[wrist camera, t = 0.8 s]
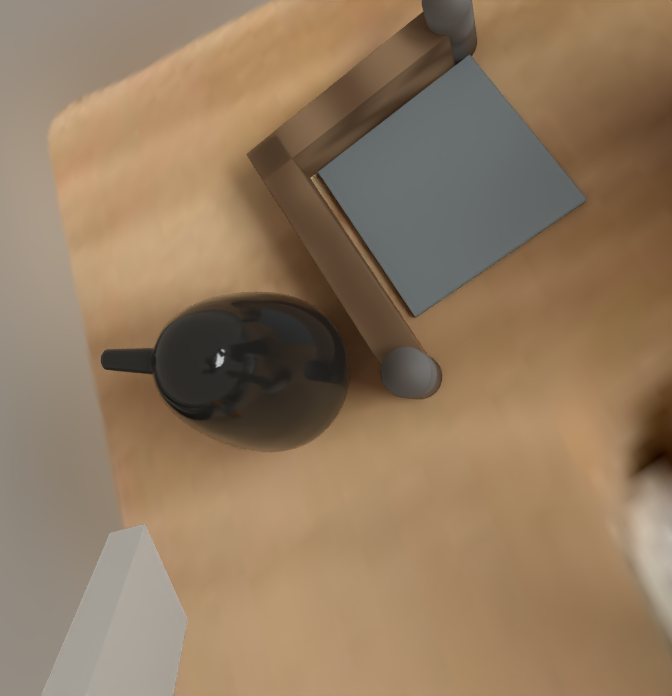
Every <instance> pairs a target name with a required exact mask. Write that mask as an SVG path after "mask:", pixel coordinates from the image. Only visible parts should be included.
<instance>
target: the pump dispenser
mask: <svg viewBox="0 0 672 696" xmlns="http://www.w3.org/2000/svg"><path fill="white" fill-rule="evenodd" d="M101 364H102V366H103V368H104V369H106V370H113V371H123V372H132V373H141V374H150V375H153V378H154V382H155V386H156V388H157V391H158V393H159V395H160V397H161V398H162V400H163V401H164V403H165V404H166V405H167V407H168V408H169V409H170V410H171V411H172V412H173V413H174V414H175V415H176V416H177V417H178V418H180V419H181V420H182V421H183V422H185V423H186V424H187V425H189V426H190V427H192V428H193V429H195V430H197V431H199V432H200V433H202V434H204V435H206V436H208V437H210V438H212V439H215V440H217V441H219V442H222V443H225V444H228V445H231V446H234V447H238V448H242V449H247V450H252V451H259V452H280V451H287V450H291V449H295V448H298V447H301V446H303V445H305V444H307V443H309V442H311V441H313V440H314V439H316V438H317V437H318V436H320V435H321V434H322V433H323V432H324V431H325V430H326V429H327V428H328V427H329V426H330V425H331V423H332V422H333V421H334V419H335V418H336V416H337V415H338V413H339V411H340V409H341V407H342V405H343V403H344V400H345V397H346V394H347V390H348V385H349V372H350V370H349V359H348V353H347V350H346V346H345V343H344V341H343V338H342V336H341V334H340V332H339V331H338V329H337V328H336V326H335V325H334V323H333V322H332V321H331V320H330V319H329V317H328V316H327V315H325V314H324V313H323V312H322V311H321V310H320V309H318V308H317V307H315V306H314V305H312V304H310V303H308V302H306V301H304V300H301V299H299V298H296V297H293V296H289V295H285V294H279V293H270V292H242V293H233V294H227V295H222V296H217V297H213V298H209V299H206V300H203V301H200V302H198V303H196V304H193V305H191V306H189V307H187V308H186V309H184V310H182V311H181V312H180V313H178V314H177V315H176V316H174V317H173V318H172V319H171V320H170V321H169V322H168V323H167V324H166V325H165V327H164V328H163V330H162V331H161V333H160V335H159V337H158V339H157V341H156V343H155V346H154V348H134V349H107V350H105V351H104V352H103V354H102V356H101Z"/></svg>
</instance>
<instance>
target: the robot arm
mask: <svg viewBox="0 0 672 696" xmlns="http://www.w3.org/2000/svg"><path fill="white" fill-rule="evenodd" d="M187 622H188V619H187V617H186V614H185V612H184V610H183V608H182V605H181V603H180V601H179V599H178V597H177V594H176V592H175V590H174V588H173V585H172V583H171V581H170V579H169V576H168V574H167V572H166V570H165V567H164V565H163V563H162V561H161V558H160V556H159V554H158V552H157V549H156V547H155V545H154V543H153V541H152V538H151V536H150V534H149V532H148V529H147V527H146V525H145V524H142V525H138V526H134V527H130V528H126V529H122V530H119V531H115V532H111V533H110V534H109V536H108V538H107V541H106V543H105V546H104V548H103V550H102V553H101V555H100V557H99V560H98V562H97V564H96V567H95V569H94V571H93V574H92V576H91V579H90V581H89V583H88V586H87V588H86V590H85V593H84V595H83V597H82V600H81V602H80V605H79V607H78V609H77V611H76V614H75V616H74V619H73V621H72V623H71V626H70V628H69V631H68V633H67V635H66V638H65V640H64V642H63V644H62V647H61V649H60V652H59V654H58V656H57V659H56V661H55V663H54V666H53V668H52V671H51V673H50V675H49V678H48V680H47V682H46V685H45V687H44V690H43V692H42V694H41V696H173V695H174V690H175V684H176V679H177V674H178V669H179V663H180V658H181V653H182V648H183V642H184V637H185V632H186V627H187Z"/></svg>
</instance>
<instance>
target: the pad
mask: <svg viewBox="0 0 672 696" xmlns="http://www.w3.org/2000/svg"><path fill="white" fill-rule="evenodd" d="M318 173H319V174H320V176H321V177H322V179H323V180H324V182H325V183H326V185H327V186H328V188H329V189H330V191H331V192H332V194H333V195H334V197H335V198H336V200H337V201H338V203H339V204H340V206H341V207H342V209H343V210H344V212H345V213H346V215H347V216H348V218H349V219H350V221H351V222H352V224H353V225H354V227H355V228H356V230H357V231H358V232H359V234H360V235H361V237H362V238H363V240H364V241H365V243H366V244H367V246H368V247H369V249H370V250H371V252H372V253H373V255H374V256H375V258H376V259H377V261H378V262H379V264H380V265H381V267H382V268H383V270H384V271H385V273H386V274H387V276H388V277H389V279H390V280H391V282H392V283H393V285H394V286H395V288H396V289H397V291H398V292H399V294H400V295H401V297H402V298H403V300H404V301H405V302H406V304H407V305H408V307H409V308H410V310H411V311H412V313H413V314H414V316H415V317H417V316H419V315H420V314H422V313H423V312H425V311H426V310H428V309H429V308H430V307H432V306H433V305H435V304H436V303H438V302H439V301H441V300H442V299H444V298H445V297H447V296H448V295H449V294H451V293H452V292H454V291H455V290H457V289H458V288H460V287H461V286H463V285H464V284H466V283H467V282H468V281H470V280H471V279H473V278H474V277H476V276H477V275H479V274H480V273H482V272H483V271H485V270H486V269H487V268H489V267H490V266H492V265H493V264H495V263H496V262H498V261H499V260H501V259H502V258H504V257H505V256H506V255H508V254H509V253H511V252H512V251H514V250H515V249H517V248H518V247H520V246H521V245H523V244H524V243H525V242H527V241H528V240H530V239H531V238H533V237H534V236H536V235H537V234H539V233H540V232H542V231H543V230H544V229H546V228H547V227H549V226H550V225H552V224H553V223H555V222H556V221H558V220H559V219H561V218H562V217H563V216H565V215H566V214H568V213H569V212H571V211H572V210H574V209H575V208H577V207H578V206H580V205H581V204H582V203H584V202H585V201H586V200H587V198H586V197H585V196H584V195H583V193H582V192H581V191H580V190H579V188H578V187H577V186H576V185H575V184H574V182H573V181H572V180H571V179H570V177H569V176H568V175H567V174H566V172H565V171H564V170H563V169H562V168H561V166H560V165H559V164H558V163H557V161H556V160H555V159H554V158H553V156H552V155H551V154H550V153H549V151H548V150H547V149H546V148H545V147H544V145H543V144H542V143H541V142H540V140H539V139H538V138H537V137H536V135H535V134H534V133H533V132H532V131H531V129H530V128H529V127H528V126H527V124H526V123H525V122H524V121H523V119H522V118H521V117H520V116H519V115H518V113H517V112H516V111H515V110H514V108H513V107H512V106H511V105H510V103H509V102H508V101H507V100H506V99H505V97H504V96H503V95H502V94H501V92H500V91H499V90H498V89H497V87H496V86H495V85H494V84H493V83H492V81H491V80H490V79H489V78H488V76H487V75H486V74H485V73H484V71H483V70H482V69H481V68H480V67H479V65H478V64H477V63H476V62H475V60H474V59H473V58H472V57H471V55H468V56H467V57H466V58H464V59H463V60H462V61H461V62H459V63H458V64H457V65H455V66H454V67H453V68H451V69H450V70H449V71H448V72H446V73H445V74H444V75H442V76H441V77H440V78H439V79H437V80H436V81H435V82H433V83H432V84H431V85H430V86H428V87H427V88H426V89H424V90H423V91H422V92H420V93H419V94H418V95H417V96H415V97H414V98H413V99H411V100H410V101H409V102H408V103H406V104H405V105H404V106H402V107H401V108H400V109H398V110H397V111H396V112H395V113H393V114H392V115H391V116H389V117H388V118H387V119H386V120H384V121H383V122H382V123H380V124H379V125H378V126H377V127H375V128H374V129H373V130H371V131H370V132H369V133H367V134H366V135H365V136H364V137H362V138H361V139H360V140H358V141H357V142H356V143H355V144H353V145H352V146H351V147H349V148H348V149H347V150H346V151H344V152H343V153H342V154H340V155H339V156H338V157H336V158H335V159H334V160H333V161H331V162H330V163H329V164H327V165H326V166H325V167H324V168H322V169H321V170H320V171H318Z"/></svg>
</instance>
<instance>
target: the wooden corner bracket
mask: <svg viewBox="0 0 672 696" xmlns="http://www.w3.org/2000/svg"><path fill="white" fill-rule="evenodd" d="M422 7H423V11H424V12H422V13H421V14H420V15H419V16H417V17H416V18H415V19H414V20H412V21H411V22H410V23H409V24H407V25H406V26H405V27H404V28H402V29H401V30H400V31H399V32H397V33H396V34H395V35H394V36H392V37H391V38H390V39H389V40H388V41H386V42H385V43H384V44H383V45H381V46H380V47H379V48H378V49H376V50H375V51H374V52H373V53H371V54H370V55H369V56H368V57H366V58H365V59H364V60H363V61H361V62H360V63H359V64H358V65H356V66H355V67H354V68H353V69H352V70H350V71H349V72H348V73H347V74H345V75H344V76H343V77H342V78H340V79H339V80H338V81H337V82H335V83H334V84H333V85H332V86H330V87H329V88H328V89H327V90H325V91H324V92H323V93H322V94H320V95H319V96H318V97H317V98H316V99H314V100H313V101H312V102H311V103H309V104H308V105H307V106H306V107H304V108H303V109H302V110H301V111H299V112H298V113H297V114H296V115H294V116H293V117H292V118H291V119H289V120H288V121H287V122H286V123H284V124H283V125H282V126H281V127H280V128H278V129H277V130H276V131H275V132H273V133H272V134H271V135H270V136H268V137H267V138H266V139H265V140H263V141H262V142H261V143H260V144H258V145H257V146H256V147H255V148H253V149H252V150H251V151H250V152H249V153H247V156H248V158H249V159H250V161H251V162H252V164H253V165H254V167H255V169H256V170H257V172H258V173H259V175H260V176H261V178H262V180H263V181H264V183H265V184H266V186H267V187H268V189H269V191H270V192H271V194H272V195H273V197H274V198H275V200H276V202H277V203H278V205H279V206H280V208H281V209H282V211H283V213H284V214H285V216H286V217H287V219H288V220H289V222H290V224H291V225H292V227H293V228H294V230H295V231H296V233H297V234H298V236H299V238H300V239H301V241H302V242H303V244H304V245H305V247H306V249H307V250H308V252H309V253H310V255H311V256H312V258H313V260H314V261H315V263H316V264H317V266H318V267H319V269H320V271H321V272H322V274H323V275H324V277H325V278H326V280H327V282H328V283H329V285H330V286H331V288H332V289H333V291H334V293H335V294H336V296H337V297H338V299H339V300H340V302H341V304H342V305H343V307H344V308H345V310H346V311H347V313H348V315H349V316H350V318H351V319H352V321H353V322H354V324H355V325H356V327H357V329H358V330H359V332H360V333H361V335H362V336H363V338H364V340H365V341H366V343H367V344H368V346H369V347H370V349H371V351H372V352H373V354H374V355H375V357H376V358H377V360H378V362H379V363H380V365H381V379H382V382H383V384H384V386H385V387H386V389H387V390H388V391H389V392H391V393H392V394H394V395H396V396H398V397H403V398H413V399H425V398H428V397H430V396H432V395H433V394H434V393H435V392H436V391H437V390H438V389H439V387H440V385H441V382H442V372H441V369H440V366H439V365H438V363H437V362H436V361H435V360H434V359H433V358H431V357H429V356H428V355H427V353H426V352H425V350H424V349H423V347H422V346H421V344H420V343H419V341H418V340H417V338H416V337H415V335H414V334H413V332H412V331H411V329H410V328H409V326H408V325H407V323H406V322H405V320H404V319H403V317H402V316H401V314H400V313H399V311H398V310H397V308H396V307H395V305H394V304H393V302H392V301H391V299H390V298H389V296H388V295H387V293H386V292H385V290H384V289H383V287H382V286H381V284H380V283H379V281H378V280H377V278H376V277H375V275H374V274H373V272H372V271H371V269H370V268H369V266H368V265H367V263H366V262H365V260H364V259H363V257H362V256H361V254H360V253H359V251H358V250H357V248H356V247H355V245H354V243H353V242H352V240H351V239H350V237H349V236H348V234H347V233H346V231H345V230H344V228H343V227H342V225H341V224H340V222H339V221H338V219H337V218H336V216H335V215H334V213H333V212H332V210H331V209H330V207H329V206H328V204H327V203H326V201H325V200H324V198H323V197H322V195H321V194H320V192H319V191H318V189H317V188H316V186H315V185H314V183H313V182H312V180H311V179H310V177H311V176H313V175H314V174H315V173H317V172H318V171H319V170H320V169H322V168H323V167H324V166H326V165H327V164H328V163H330V162H331V161H332V160H333V159H335V158H336V157H337V156H339V155H340V154H341V153H342V152H344V151H345V150H346V149H348V148H349V147H350V146H351V145H353V144H354V143H355V142H357V141H358V140H359V139H361V138H362V137H363V136H364V135H366V134H367V133H368V132H370V131H371V130H372V129H373V128H375V127H376V126H377V125H379V124H380V123H381V122H382V121H384V120H385V119H386V118H388V117H389V116H390V115H392V114H393V113H394V112H395V111H397V110H398V109H399V108H401V107H402V106H403V105H404V104H406V103H407V102H408V101H410V100H411V99H412V98H413V97H415V96H416V95H417V94H419V93H420V92H421V91H423V90H424V89H425V88H426V87H428V86H429V85H430V84H432V83H433V82H434V81H435V80H437V79H438V78H439V77H441V76H442V75H443V74H444V73H446V72H447V71H448V70H450V69H451V68H452V67H454V66H455V65H457V64H458V63H459V62H461V61H462V60H463V59H464V58H466V57H467V56H468V55H471V56H472V54H473V53H474V51H475V49H476V46H477V37H476V29H475V21H474V13H473V5H472V0H422Z"/></svg>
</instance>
